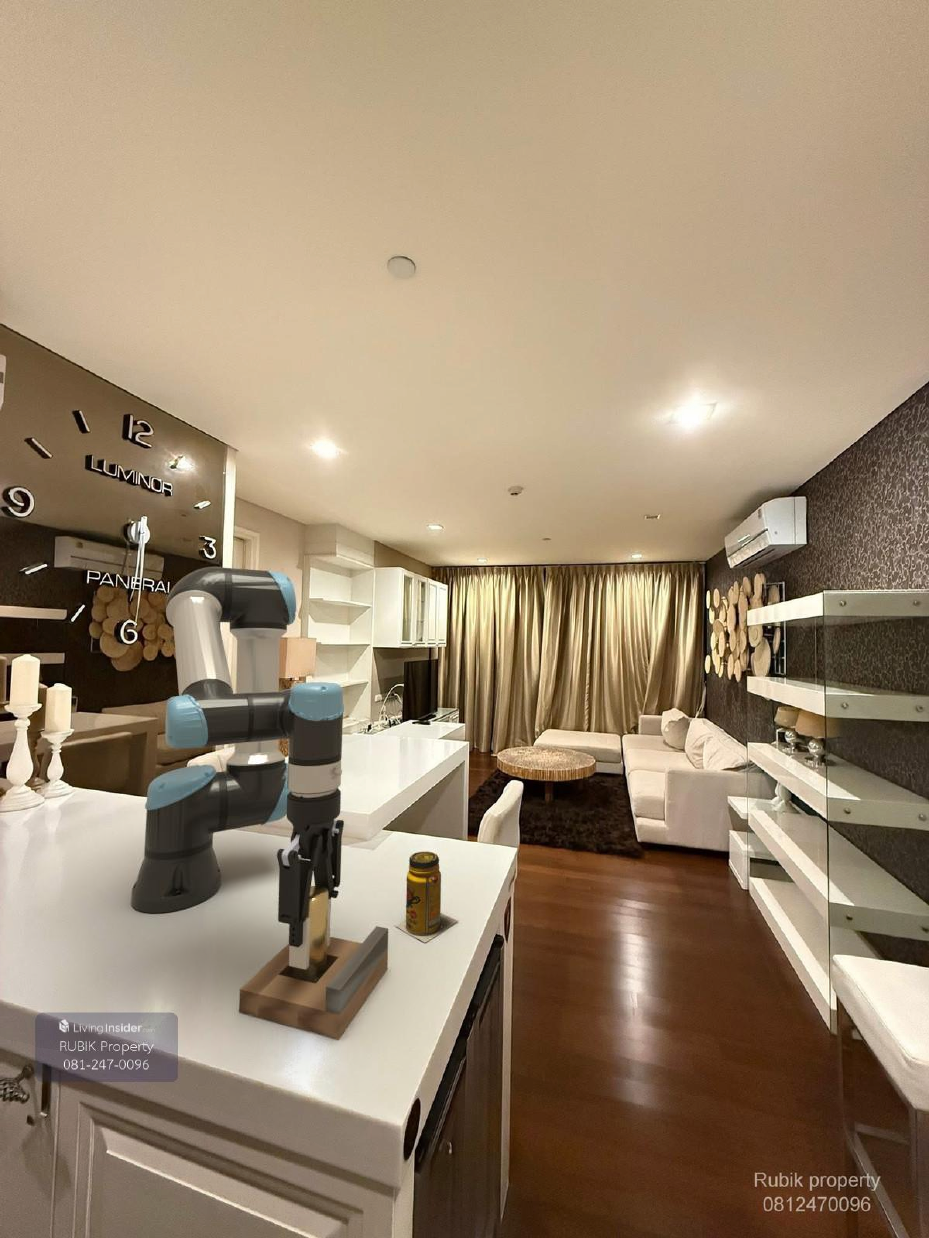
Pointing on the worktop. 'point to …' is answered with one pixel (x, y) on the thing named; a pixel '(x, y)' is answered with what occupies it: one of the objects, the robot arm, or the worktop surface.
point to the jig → (319, 987)
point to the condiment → (424, 898)
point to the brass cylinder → (316, 936)
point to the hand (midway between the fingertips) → (310, 954)
